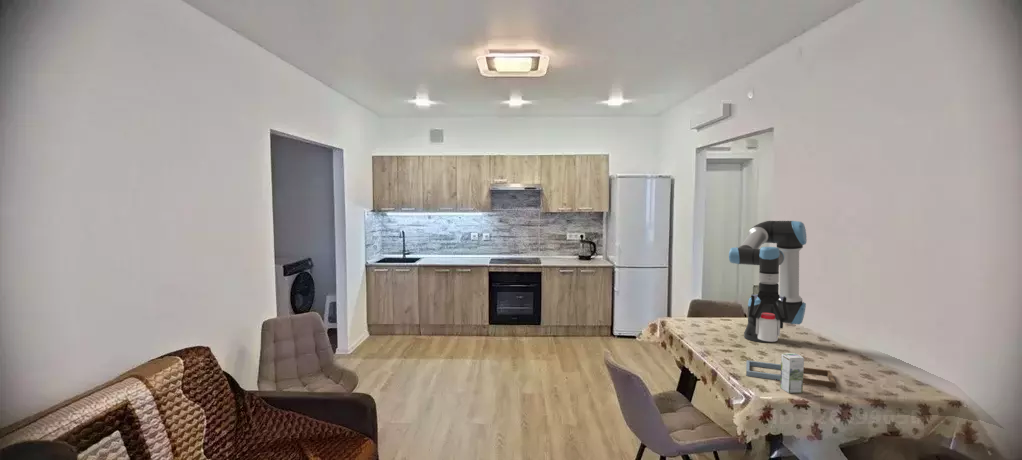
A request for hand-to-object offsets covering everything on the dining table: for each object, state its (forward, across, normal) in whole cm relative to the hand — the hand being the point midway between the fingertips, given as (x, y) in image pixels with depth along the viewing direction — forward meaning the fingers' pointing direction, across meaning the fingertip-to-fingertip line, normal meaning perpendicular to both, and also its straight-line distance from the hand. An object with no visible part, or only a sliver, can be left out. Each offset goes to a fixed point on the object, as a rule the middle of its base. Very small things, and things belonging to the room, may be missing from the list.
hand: (767, 334), depth 210 cm
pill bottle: (+2, 0, 0) cm, 2 cm away
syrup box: (+17, +8, -18) cm, 26 cm away
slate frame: (+17, 0, 0) cm, 17 cm away
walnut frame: (+17, +17, 0) cm, 24 cm away
